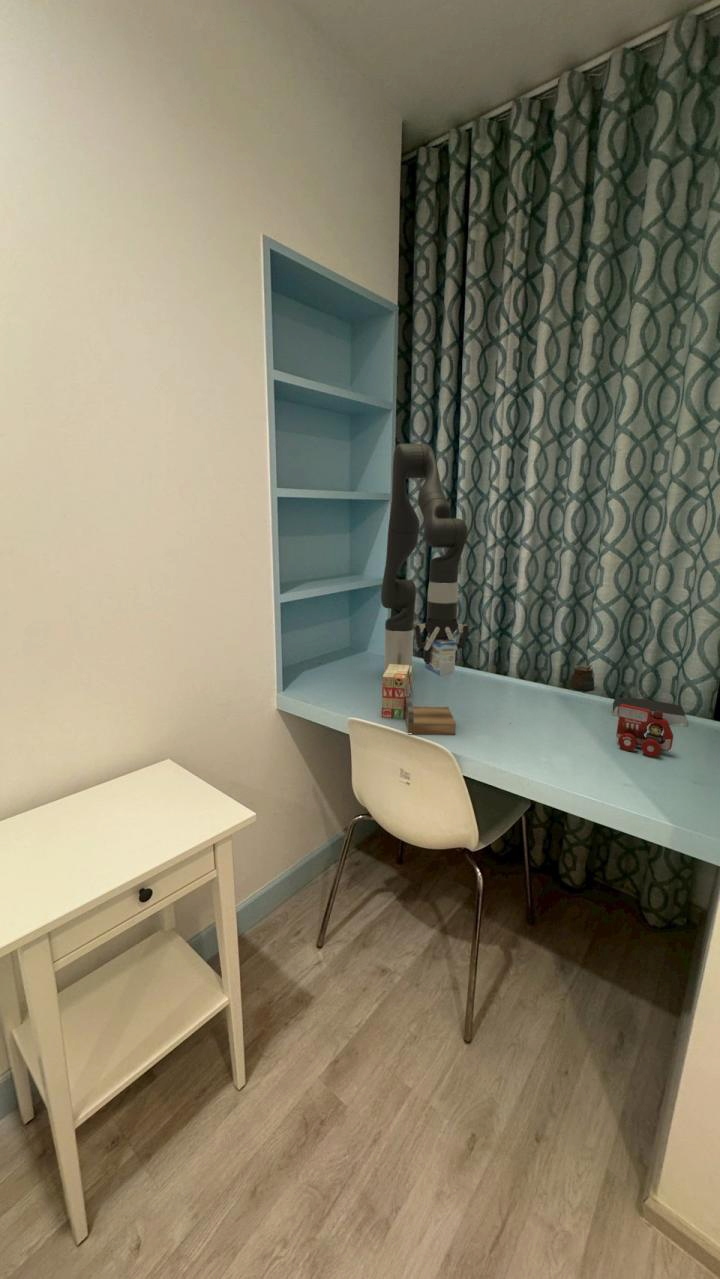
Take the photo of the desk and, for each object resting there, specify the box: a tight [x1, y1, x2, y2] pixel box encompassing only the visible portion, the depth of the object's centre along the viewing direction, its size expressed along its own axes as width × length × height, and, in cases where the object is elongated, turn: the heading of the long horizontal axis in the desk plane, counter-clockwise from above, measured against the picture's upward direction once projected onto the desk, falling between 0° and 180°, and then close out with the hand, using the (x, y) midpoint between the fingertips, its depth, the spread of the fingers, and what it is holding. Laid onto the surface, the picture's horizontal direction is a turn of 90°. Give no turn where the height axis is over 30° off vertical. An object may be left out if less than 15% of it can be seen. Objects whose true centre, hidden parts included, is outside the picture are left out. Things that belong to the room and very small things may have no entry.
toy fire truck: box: [615, 704, 674, 758], centre depth 129 cm, size 7×12×10 cm, turn 52°
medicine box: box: [424, 636, 457, 677], centre depth 138 cm, size 8×4×9 cm, turn 23°
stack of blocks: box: [381, 664, 414, 720], centre depth 156 cm, size 21×6×12 cm, turn 168°
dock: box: [404, 696, 457, 736], centre depth 142 cm, size 12×12×6 cm
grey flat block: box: [612, 696, 688, 728], centre depth 150 cm, size 12×18×4 cm
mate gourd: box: [569, 664, 595, 692], centre depth 170 cm, size 7×8×10 cm
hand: (439, 663), depth 139 cm, fingers closed on medicine box, 5 cm apart
